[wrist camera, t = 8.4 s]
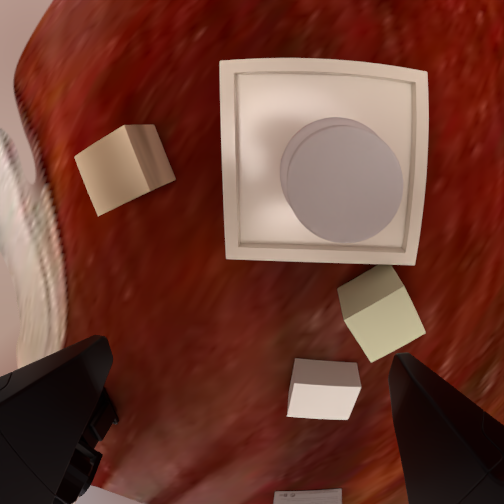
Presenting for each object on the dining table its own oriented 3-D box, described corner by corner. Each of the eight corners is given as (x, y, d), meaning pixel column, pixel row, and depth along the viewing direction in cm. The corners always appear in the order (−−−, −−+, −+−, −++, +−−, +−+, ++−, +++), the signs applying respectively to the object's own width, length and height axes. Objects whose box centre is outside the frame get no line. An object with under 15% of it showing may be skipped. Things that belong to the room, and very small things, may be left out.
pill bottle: (291, 115, 17) (286, 99, 9) (371, 131, 16) (427, 132, 9) (279, 194, 19) (265, 241, 11) (357, 208, 18) (396, 265, 10)
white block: (288, 390, 25) (287, 416, 22) (295, 356, 24) (294, 383, 21) (344, 394, 25) (347, 419, 22) (356, 361, 23) (361, 387, 20)
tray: (230, 250, 21) (226, 258, 20) (224, 65, 17) (219, 60, 15) (408, 256, 19) (414, 265, 18) (419, 75, 15) (427, 71, 14)
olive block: (362, 327, 22) (371, 362, 18) (336, 288, 21) (343, 320, 17) (408, 301, 21) (425, 332, 17) (387, 258, 20) (404, 285, 16)
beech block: (129, 201, 21) (98, 216, 17) (108, 150, 20) (74, 156, 16) (176, 179, 20) (150, 191, 16) (154, 124, 19) (124, 125, 15)
